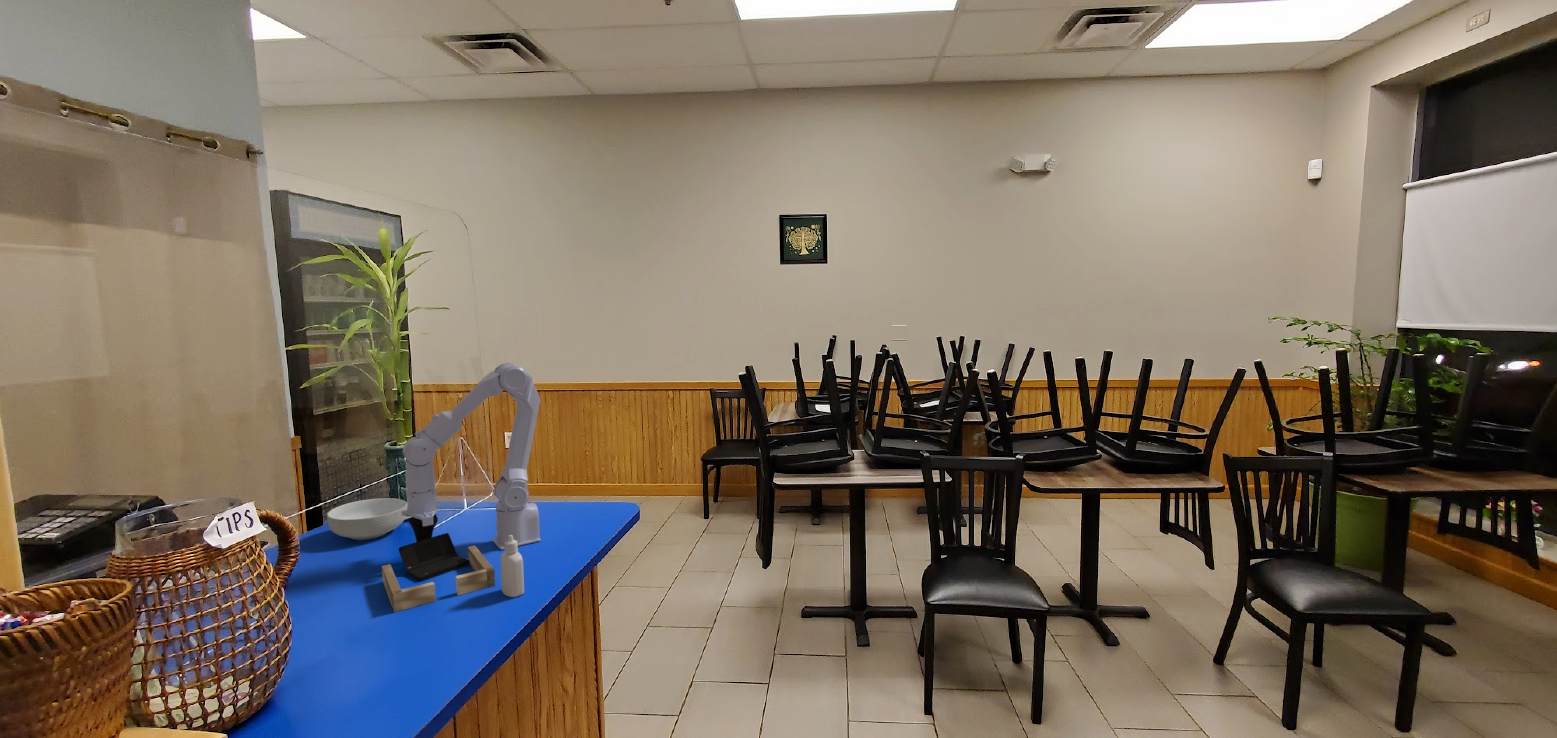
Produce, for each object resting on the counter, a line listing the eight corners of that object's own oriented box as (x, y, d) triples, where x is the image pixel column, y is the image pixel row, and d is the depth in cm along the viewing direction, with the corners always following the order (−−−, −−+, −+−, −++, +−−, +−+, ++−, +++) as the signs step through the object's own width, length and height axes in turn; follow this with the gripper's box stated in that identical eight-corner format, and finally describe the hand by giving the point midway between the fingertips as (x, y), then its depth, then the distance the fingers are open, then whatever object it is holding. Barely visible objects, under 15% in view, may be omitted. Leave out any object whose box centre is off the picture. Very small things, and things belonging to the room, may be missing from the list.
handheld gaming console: (427, 575, 128) (411, 533, 130) (407, 591, 130) (392, 549, 133) (475, 562, 138) (459, 523, 141) (456, 577, 140) (441, 538, 143)
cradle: (475, 560, 140) (474, 545, 139) (495, 585, 127) (494, 569, 127) (382, 581, 128) (381, 566, 128) (394, 612, 116) (393, 594, 115)
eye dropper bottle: (525, 584, 127) (522, 529, 126) (523, 596, 122) (521, 539, 121) (502, 588, 126) (499, 532, 125) (500, 600, 121) (497, 541, 120)
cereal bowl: (350, 552, 144) (348, 523, 143) (315, 539, 152) (313, 511, 151) (422, 529, 159) (420, 503, 158) (386, 518, 167) (385, 493, 166)
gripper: (395, 485, 141) (399, 542, 143) (405, 501, 130) (409, 562, 131) (430, 480, 146) (433, 535, 147) (442, 495, 134) (445, 554, 136)
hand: (424, 547), depth 139 cm, fingers closed
